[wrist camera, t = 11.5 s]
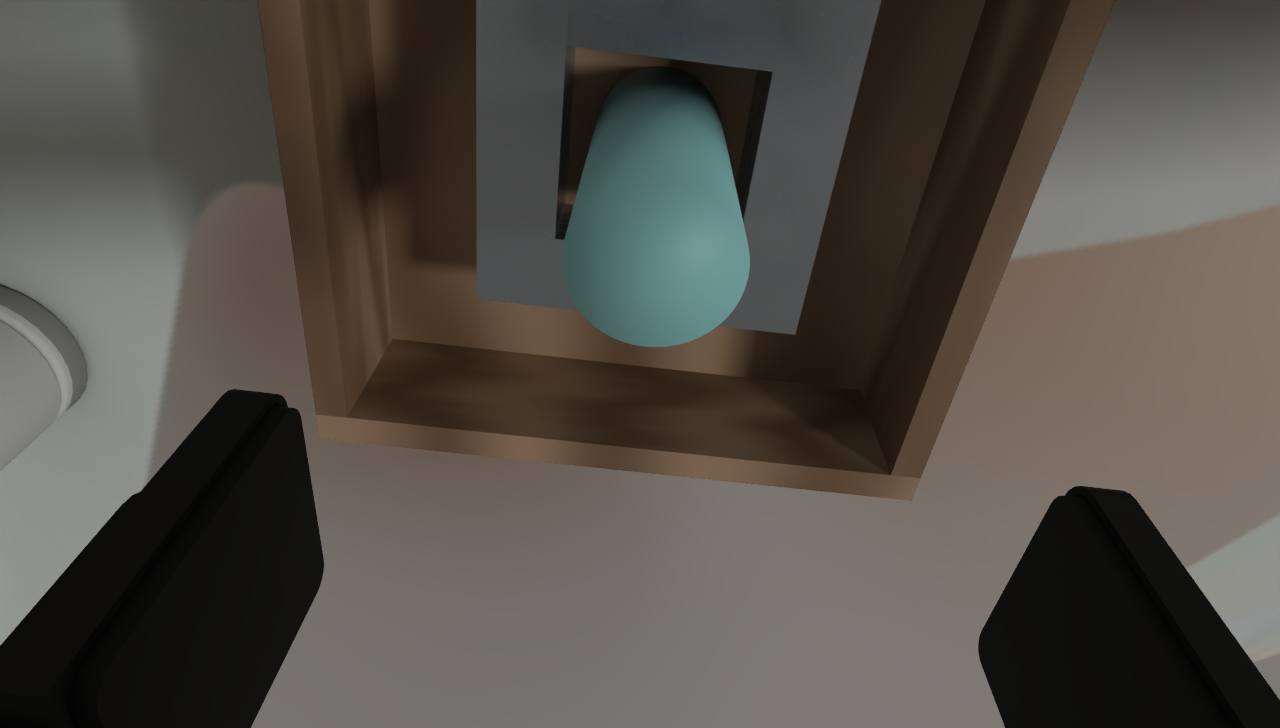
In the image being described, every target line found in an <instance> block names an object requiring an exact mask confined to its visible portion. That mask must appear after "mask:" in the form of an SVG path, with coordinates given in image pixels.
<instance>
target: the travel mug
mask: <svg viewBox="0 0 1280 728" xmlns="http://www.w3.org/2000/svg"><path fill="white" fill-rule="evenodd" d="M86 383H87V364H86V361H85V358H84V354H83V352H82V350H81V348H80V346H79V344H78V342H77V340H76V339H75V338H74V336H73V335H72V334H71V332H70V331H69V330H68V328H67V327H66V326H65V325H64V324H63V323H62V322H61V321H60V320H59V319H58V318H57V317H56V316H55V315H53V314H52V313H51V312H50V311H48V310H47V309H46V308H44V307H43V306H42V305H40V304H39V303H37V302H35V301H34V300H32V299H30V298H29V297H27V296H25V295H23V294H21V293H18V292H16V291H14V290H11V289H9V288H6V287H2V286H0V471H1V470H2V469H3V468H4V467H5V466H6V465H7V464H9V463H10V462H11V461H12V460H13V459H14V458H15V457H16V456H17V455H18V454H20V453H21V452H22V451H23V450H24V449H25V448H26V447H27V446H28V445H29V444H30V443H32V442H33V441H34V440H35V439H36V438H37V437H38V436H39V435H40V434H41V433H43V432H44V431H45V430H46V429H47V428H48V427H49V426H50V425H51V424H52V423H53V422H54V421H55V420H57V419H58V418H59V417H60V416H61V415H62V414H63V413H65V412H66V411H67V410H68V409H69V408H70V407H71V406H72V405H73V404H74V403H75V402H77V401H78V400H79V399H80V397H81V396H82V394H83V392H84V391H85V388H86Z"/></svg>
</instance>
